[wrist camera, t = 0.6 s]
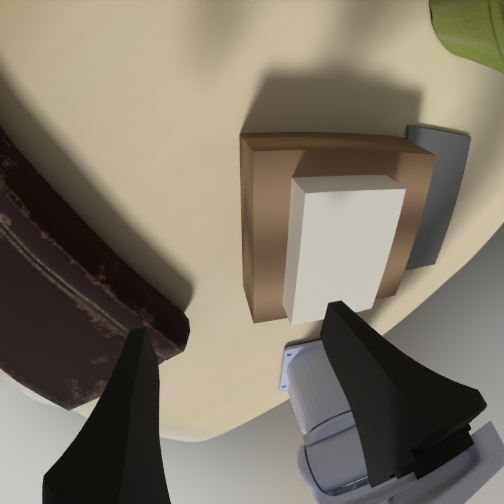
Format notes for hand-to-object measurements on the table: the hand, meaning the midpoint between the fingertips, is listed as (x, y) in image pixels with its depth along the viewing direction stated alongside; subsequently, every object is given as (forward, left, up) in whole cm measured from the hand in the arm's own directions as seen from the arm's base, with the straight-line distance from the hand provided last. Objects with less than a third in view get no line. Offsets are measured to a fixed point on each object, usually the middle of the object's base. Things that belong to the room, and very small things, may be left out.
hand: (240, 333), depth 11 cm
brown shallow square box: (-1, -8, -10) cm, 13 cm away
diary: (-3, +17, -11) cm, 21 cm away
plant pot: (+16, -19, -11) cm, 27 cm away
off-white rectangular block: (-1, -7, -6) cm, 9 cm away
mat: (-1, -18, -10) cm, 21 cm away
